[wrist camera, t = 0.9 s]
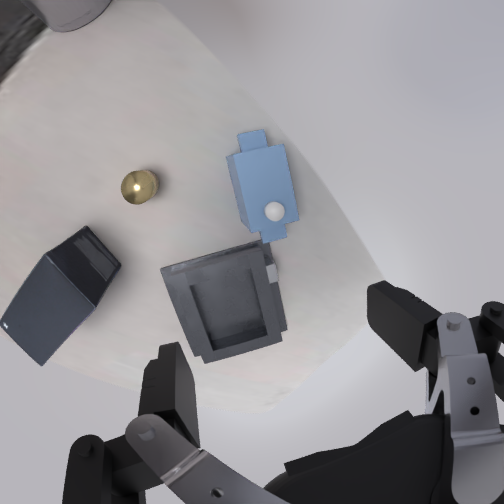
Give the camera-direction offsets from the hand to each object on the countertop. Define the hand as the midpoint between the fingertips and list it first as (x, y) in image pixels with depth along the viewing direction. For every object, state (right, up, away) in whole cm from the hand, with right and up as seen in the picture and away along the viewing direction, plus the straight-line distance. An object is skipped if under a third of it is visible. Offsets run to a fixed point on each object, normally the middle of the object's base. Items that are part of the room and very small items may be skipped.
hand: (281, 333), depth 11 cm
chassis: (-4, -2, +22) cm, 22 cm away
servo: (-1, +10, +18) cm, 21 cm away
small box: (-21, +1, +17) cm, 27 cm away
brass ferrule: (-12, +10, +16) cm, 22 cm away
